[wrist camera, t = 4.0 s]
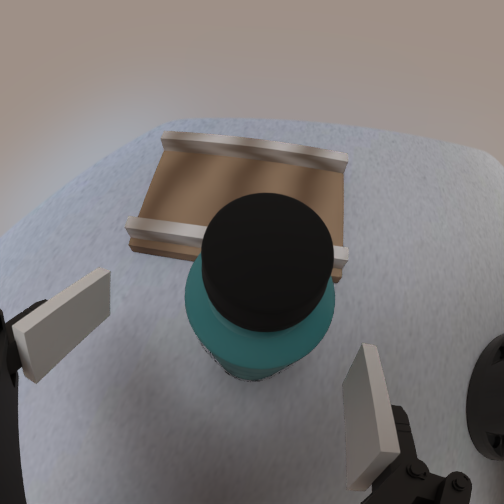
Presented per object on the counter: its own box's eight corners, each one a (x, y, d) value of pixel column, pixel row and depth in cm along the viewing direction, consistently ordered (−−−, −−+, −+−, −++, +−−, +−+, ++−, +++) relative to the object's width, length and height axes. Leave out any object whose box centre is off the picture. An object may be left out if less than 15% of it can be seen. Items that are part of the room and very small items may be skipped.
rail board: (340, 168, 36) (347, 148, 32) (337, 282, 30) (347, 268, 26) (171, 146, 36) (166, 126, 33) (133, 251, 31) (121, 234, 27)
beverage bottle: (241, 296, 29) (236, 125, 11) (304, 336, 27) (409, 218, 9) (198, 355, 27) (104, 266, 8) (263, 398, 25) (307, 411, 7)
